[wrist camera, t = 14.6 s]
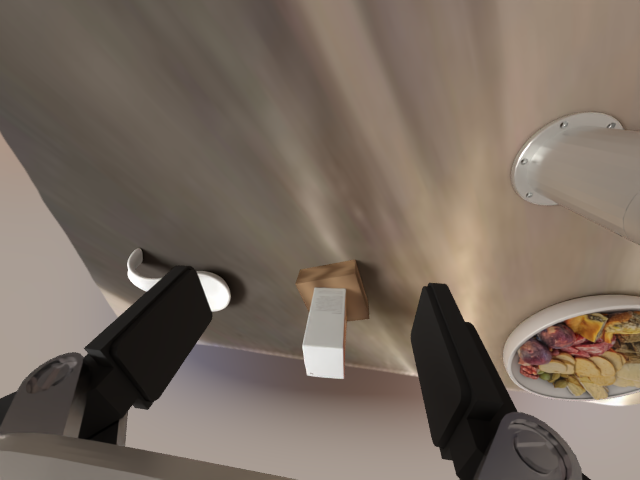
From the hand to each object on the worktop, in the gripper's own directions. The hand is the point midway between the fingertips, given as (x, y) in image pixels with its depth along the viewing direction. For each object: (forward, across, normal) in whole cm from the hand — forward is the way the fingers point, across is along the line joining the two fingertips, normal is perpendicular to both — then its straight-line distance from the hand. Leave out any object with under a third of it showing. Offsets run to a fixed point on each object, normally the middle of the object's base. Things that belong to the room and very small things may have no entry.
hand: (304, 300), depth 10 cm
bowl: (+33, -50, +38) cm, 71 cm away
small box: (+28, +2, +28) cm, 39 cm away
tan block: (+32, +2, +28) cm, 43 cm away
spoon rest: (+32, +36, +27) cm, 55 cm away
